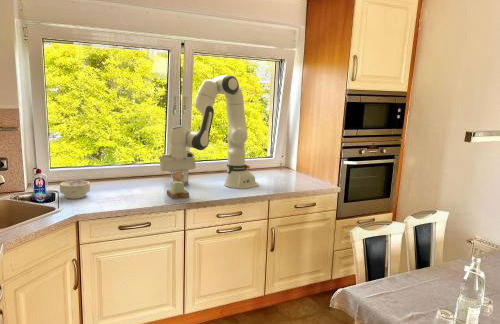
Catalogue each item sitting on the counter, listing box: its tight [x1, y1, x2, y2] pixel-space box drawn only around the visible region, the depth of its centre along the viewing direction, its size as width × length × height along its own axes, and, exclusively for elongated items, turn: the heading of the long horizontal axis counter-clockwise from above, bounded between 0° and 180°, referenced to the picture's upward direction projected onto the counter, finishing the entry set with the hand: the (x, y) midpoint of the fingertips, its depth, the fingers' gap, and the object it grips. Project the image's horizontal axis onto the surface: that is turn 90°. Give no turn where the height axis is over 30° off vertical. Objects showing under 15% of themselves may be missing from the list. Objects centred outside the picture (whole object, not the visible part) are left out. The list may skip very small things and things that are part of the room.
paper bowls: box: [59, 179, 91, 200], centre depth 209 cm, size 15×15×8 cm
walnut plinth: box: [166, 188, 190, 200], centre depth 220 cm, size 10×10×2 cm
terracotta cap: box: [174, 171, 182, 181], centre depth 218 cm, size 4×4×5 cm
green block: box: [171, 182, 185, 193], centre depth 219 cm, size 6×6×5 cm
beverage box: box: [172, 149, 189, 187], centre depth 245 cm, size 7×11×22 cm, turn 27°
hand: (177, 177), depth 218 cm, fingers closed on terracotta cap, 4 cm apart
